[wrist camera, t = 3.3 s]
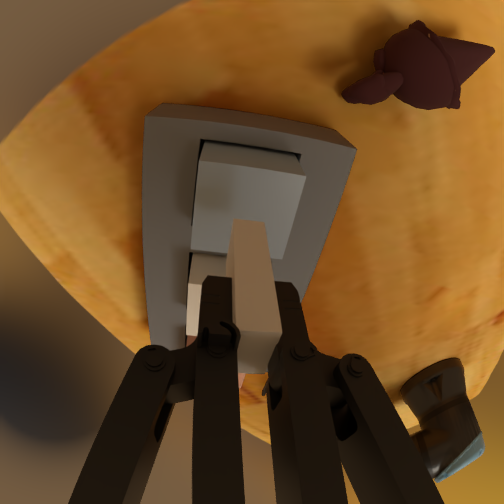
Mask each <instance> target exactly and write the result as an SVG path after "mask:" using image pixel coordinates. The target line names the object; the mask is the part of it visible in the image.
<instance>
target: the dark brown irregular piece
mask: <svg viewBox="0 0 504 504" xmlns="http://www.w3.org/2000/svg"><path fill="white" fill-rule="evenodd" d="M494 53H495V50H494V48H493V47H490V46H487V45H483V44H478V43H474V42H469V41H464V40H458V39H453V38H447V37H440V36H437V35H436V34H435V33H434V32H432V31H431V30H430V29H428V28H427V27H426V26H425V24H424V23H423V22H422V21H420V20H416V21H415V22H414V23H413V24H410V25H409V29H406V30H403V31H401V32H399V33H397V34H395V35H393V36H392V37H391V38H390V40H389V41H388V42H387V43H386V45H385V47H384V49H380V50H377V51H375V55H374V61H373V62H374V66H375V70H376V72H375V73H373V74H372V75H371V76H369V77H366V78H364V79H361V80H359V81H357V82H356V83H354V84H353V85H351V86H349V87H347V88H346V89H345V90H344V91H343V92H342V96H343V98H344V100H345V101H347V102H348V103H353V104H357V103H362V104H369V105H372V104H375V103H378V102H382V101H384V100H386V99H387V98H388V97H389V96H390V95H391V94H394V95H395V96H396V97H397V98H398V99H400V100H401V101H403V102H405V103H407V104H409V105H411V106H413V107H416V108H420V109H426V110H431V109H437V108H443V107H447V108H448V109H450V108H453V109H459V108H460V103H461V102H460V100H459V98H460V92H461V87H460V85H461V84H462V83H464V82H465V81H466V80H467V79H468V78H469V77H470V76H471V75H472V74H473V73H474V72H475V71H476V70H477V69H478V68H479V67H480V66H481V65H482V64H483V63H484V62H486V61H487V60H488V59H489V58H490V57H491V56H492V55H493V54H494Z"/></svg>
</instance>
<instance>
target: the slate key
mask: <svg viewBox="0 0 504 504" xmlns="http://www.w3.org/2000/svg"><path fill="white" fill-rule="evenodd" d="M305 180H306V174H305V173H304V171H303V169H302V167H301V165H300V163H299V161H298V160H297V158H296V156H295V154H294V153H289V152H284V151H278V150H272V149H266V148H260V147H254V146H247V145H240V144H233V143H225V142H218V141H209V140H205V143H204V146H203V149H202V152H201V156H200V159H199V165H198V174H197V183H196V193H195V203H194V214H193V225H192V237H191V249H193V250H202V251H210V252H219V253H228V248H229V242H230V236H231V230H232V224H233V218H234V219H243V220H251V221H259V222H264V223H265V229H266V235H267V241H268V247H269V253H270V258H274V259H282V258H283V255H284V252H285V248H286V245H287V242H288V238H289V235H290V232H291V228H292V225H293V221H294V218H295V215H296V211H297V208H298V204H299V201H300V197H301V194H302V190H303V187H304V183H305Z"/></svg>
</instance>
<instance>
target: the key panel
mask: <svg viewBox="0 0 504 504" xmlns="http://www.w3.org/2000/svg"><path fill="white" fill-rule="evenodd" d="M205 140H209V141H218V142H225V143H233V144H240V145H247V146H254V147H260V148H266V149H272V150H278V151H284V152H289V153H294V154H295V156H296V158H297V160H298V161H299V163H300V165H301V167H302V169H303V171H304V173H305V174H306V180H305V183H304V187H303V190H302V194H301V197H300V201H299V204H298V208H297V211H296V215H295V218H294V221H293V225H292V228H291V232H290V235H289V238H288V242H287V245H286V248H285V252H284V255H283V258H282V259H274V258H270V259H271V265H272V271H273V277H274V281H282V282H292V284H293V285H294V286H295V288H296V289H297V291H298V293H299V297H300V303H301V302H302V299H303V297H304V295H305V292H306V290H307V287H308V285H309V282H310V280H311V277H312V275H313V272H314V270H315V267H316V264H317V262H318V259H319V257H320V254H321V251H322V249H323V246H324V244H325V241H326V238H327V235H328V233H329V230H330V227H331V225H332V222H333V219H334V216H335V214H336V211H337V208H338V205H339V202H340V199H341V196H342V194H343V191H344V188H345V185H346V182H347V179H348V176H349V173H350V170H351V167H352V164H353V161H354V158H355V154H356V151H357V149H356V148H355V147H354V146H353V145H352V144H351V143H350V142H349V141H347V140H346V139H345V138H344V137H343V136H342V135H341V134H339V133H338V132H337V131H336V130H333V129H329V128H325V127H320V126H316V125H312V124H307V123H303V122H298V121H293V120H288V119H283V118H278V117H272V116H267V115H261V114H255V113H249V112H242V111H235V110H228V109H220V108H212V107H203V106H193V105H182V104H168V103H162V104H160V105H159V106H158V107H156V108H155V109H154V110H152V111H151V112H150V113H148V114H147V115H146V116H145V122H144V139H143V164H142V233H143V258H144V276H145V290H146V302H147V313H148V322H149V332H150V340H151V345H153V344H155V345H161V346H163V347H165V348H167V349H169V350H176V349H181V348H184V347H186V345H187V335H186V322H187V299H188V282H189V276H190V269H191V263H192V257H193V252H194V253H203V254H212V255H221V256H227V254H228V253H219V252H210V251H202V250H193V249H191V237H192V225H193V214H194V203H195V193H196V183H197V174H198V165H199V159H200V156H201V152H202V149H203V146H204V143H205ZM266 372H268V367H267V370H266Z"/></svg>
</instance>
